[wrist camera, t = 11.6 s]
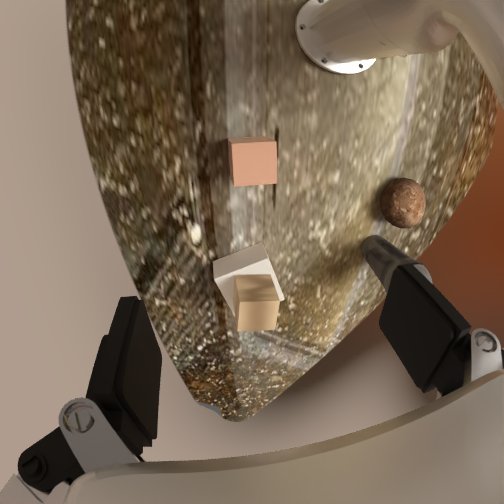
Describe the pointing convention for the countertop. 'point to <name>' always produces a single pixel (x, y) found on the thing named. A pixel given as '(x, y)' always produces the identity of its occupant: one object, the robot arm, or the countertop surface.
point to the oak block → (255, 302)
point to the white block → (242, 270)
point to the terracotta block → (252, 160)
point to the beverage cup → (387, 259)
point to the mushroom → (403, 203)
